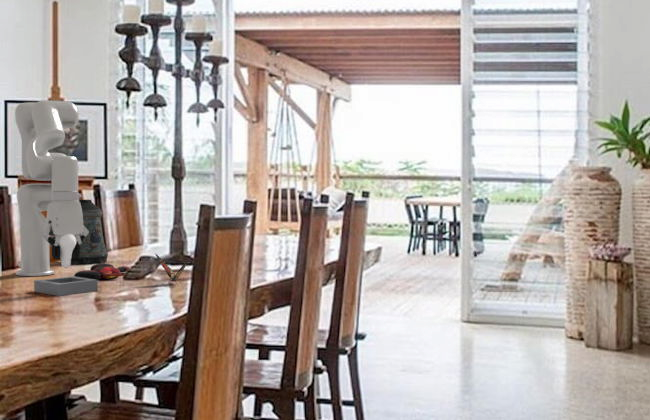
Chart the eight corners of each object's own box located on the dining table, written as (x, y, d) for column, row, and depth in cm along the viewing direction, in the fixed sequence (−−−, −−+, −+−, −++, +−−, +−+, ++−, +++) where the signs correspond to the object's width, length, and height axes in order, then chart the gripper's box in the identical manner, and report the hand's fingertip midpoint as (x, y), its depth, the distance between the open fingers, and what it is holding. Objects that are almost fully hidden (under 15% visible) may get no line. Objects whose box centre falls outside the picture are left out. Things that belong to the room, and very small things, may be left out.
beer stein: (87, 265, 292) (87, 200, 291) (50, 262, 300) (49, 199, 299) (116, 261, 307) (116, 199, 306) (80, 258, 315) (79, 198, 314)
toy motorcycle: (72, 286, 246) (121, 279, 246) (69, 270, 246) (118, 263, 246) (95, 278, 271) (139, 271, 271) (93, 264, 271) (137, 257, 271)
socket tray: (34, 291, 225) (34, 280, 225) (73, 286, 235) (72, 276, 235) (58, 296, 217) (58, 284, 217) (97, 290, 227) (97, 279, 227)
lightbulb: (56, 269, 221) (56, 232, 221) (53, 267, 227) (53, 230, 226) (78, 268, 224) (77, 231, 224) (75, 266, 230) (74, 230, 229)
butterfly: (150, 286, 237) (150, 254, 236) (158, 282, 246) (158, 251, 246) (188, 287, 236) (188, 255, 236) (195, 282, 246) (195, 252, 245)
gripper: (83, 197, 234) (84, 255, 234) (31, 197, 221) (32, 259, 221) (97, 197, 229) (98, 257, 230) (45, 198, 216) (46, 261, 216)
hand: (65, 257), depth 225 cm, fingers closed on lightbulb, 5 cm apart
